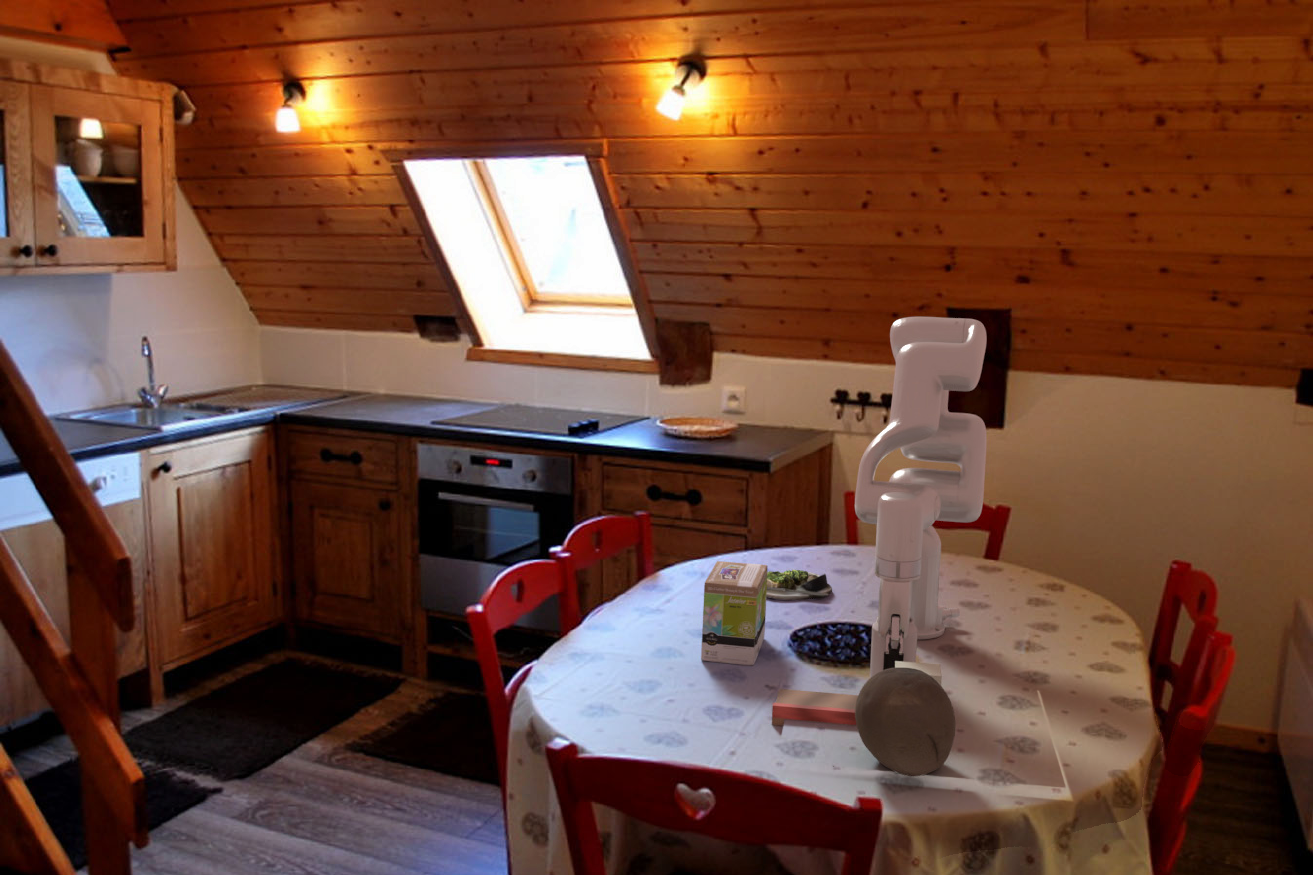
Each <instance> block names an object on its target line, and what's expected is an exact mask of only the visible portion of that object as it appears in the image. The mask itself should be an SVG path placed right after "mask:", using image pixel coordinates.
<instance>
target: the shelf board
mask: <svg viewBox="0 0 1313 875" xmlns="http://www.w3.org/2000/svg"><path fill="white" fill-rule="evenodd" d="M858 695H859V694H858ZM858 695H857V694H846V693H845V694H844V693H835V692H824V691H822V692H821V691H810V690H799V689H788V688H787V689H786V688H779V689H778V692H777V697H776V700H775V702H772V707H771V708H772V709H771V710H772V711H771V712H772V713H771V725H772V726H780V727H781V726H782V727H784V726H785V720H794V721H804V722H814V723H815V722H816V723H826V724H837V725H849V726H857V724H856V719H855V707H856V700H857V697H858Z"/></svg>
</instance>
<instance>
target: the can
mask: <svg viewBox="0 0 1313 875" xmlns="http://www.w3.org/2000/svg"><path fill="white" fill-rule="evenodd" d="M875 619H876V621H875V622H873V624H872V626H871V644H870V647H871V648H870V665H869V666H870V667H869V679H870V678H871V677H872V676H874V675H875V674H877V673H878V672H881V671H883V664H884V652H886V635H885V636H883V635H882V636H881V637H880V636H879V635H878V615H877V616H876V618H875ZM899 622H900V615H899ZM891 623H892V615H891ZM913 623H914V620H913V618H911V617H910V620H909V627H908V633H907V637H906V638H903V651H902V653H904V659H903V662H915V663H917V646H918V639H917V627H916V626H915V625H914V624H913ZM889 634H890V635H891V631H889ZM903 634H904V632H903ZM899 635H901V631H899ZM903 637H904V636H903ZM889 642H891V639H889ZM899 642H900V640H899Z"/></svg>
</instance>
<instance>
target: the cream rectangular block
mask: <svg viewBox="0 0 1313 875" xmlns="http://www.w3.org/2000/svg"><path fill="white" fill-rule="evenodd" d="M899 667H900V668H913V669H917V670H921V671H923V672H925V673H926V674H928V675H930V676H931V677H933V678H934V679H935V680H936V681H937V682H938V683H939V684H940V685H941V686H942V680H943V679H942V668H941V667H942V665H941V664H938V663H937V664H936V663H928V662H927V663H926V662H925V663H924V662H916V663H915V662H902V661H895V668H899Z"/></svg>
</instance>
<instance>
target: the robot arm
mask: <svg viewBox="0 0 1313 875" xmlns="http://www.w3.org/2000/svg"><path fill="white" fill-rule="evenodd" d="M889 330H890V331H889V338H890V339H889V341H890V347H891V352H892V355H893V358H894V361H895V369H894V378H893V386H892V388H893V389H892V397H891V404H890V405H891V406H890V415H889V422H888V425H887V426H886V427H885V428H884V429H883V430H882V431H881V432H880V433H878V434H877V435H875V437H874V438H873V439H872V441H871V442H870V443H869V445H868V446H867V447H866V449H865V450H864V452H863V455H862V457H861V459H860V461H859V466H858V471H857V480H856V487H855V488H856V489H855V496H854V511H855V515H856V517H857V518H858V520H860V521H862V522H863V523H865V524H871V525H876V538H875V555H874V556H875V557H874V559H875V560H874V561H875V562H874V576H875V577H877V578H879V591H878V592H879V593H878V609H877V610H878V611H877V612H878V614H877V616H878V635H879V636H880V637H881V636H882V635H883V636H885V635H886V652H884V664H883V670H885V669H889V668H895V661H902V662H903V659H904V653H902V651H903V638H906V637H907V633H908V627H909V620H910V617H911V618H913V620H914V623H913V624H914V625H915V626H916V627H917V640H931V639H935V638H939V637H940V636H943V634H944V633H945V629H946V628H945V627H946V626H945V624H944V623H943V621H945V620H946V619H955V618H960V615H961V614H960V610H959V608H958V607H949V608H947V607H946V605H939V591H940V590H939V589H940V572H941V555H942V554H941V553H942V542H941V538H940V536H939V534H938V533H937V531H936V529H935V527H934V526H933V524H934V523H935V521H941V522H942V521H943V522H954V523H972V522H975V521H977V520H978V519H979V517H980V516H981V514H982V510H983V505H984V504H983V503H984V496H985V495H984V494H985V493H984V492H985V477H986V475H985V474H986V463H987V461H986V459H987V443H988V442H987V440H988V438H987V429H986V428H987V427H986V425H985V422H984V420H983V419H982V418H981V417H980V416H978V415H977V414H972V413H965V412H950V411H949V409H948V407H949V404H948V403H949V395H950V394H949V392H951V391H952V392H953V391H954V392H955V391H956V392H970V391H973V390H975V388H976V387H977V386H978V383H979V381H980V378H981V374H982V370H983V364H984V360H985V353H986V349H987V338H988V337H987V330H986V327H985V326H984V324H983V323H982V321H980V320H977V319H973V318H961V317H958V318H957V317H956V318H955V317H940V316H939V317H938V316H937V317H936V316H908V317H902V318H899V319H896V320H895V321H894V322H893V323H892V325H891V327H890V329H889ZM899 449H900V451H901V454H902V455H903V457H905V458H906V459H909V460H913V461H921V462H932V463H944V464H945V463H947V464H955V465H957V466H958V467H960V468H959V469H960V471H959V470H950V469H949V470H948V469H938V468H937V469H936V468H923V467H907V468H905V467H904V468H900V469H898V470H896V471H895V472H893V473H892V475H891V476H890V478H889V481H884V480H883V481H882V480H875V474H876V470H877V468H878V465H879V464H880V463H881V461H882V460H883V459H884V458H885V457H886V456H887V455H889V454H891V453H892V452H894V451H896V450H899ZM891 615H892V623H891ZM899 615H900V622H899ZM889 631H891V635H890V634H889ZM899 631H901V635H899ZM903 632H904V634H903ZM903 636H904V637H903ZM889 639H891V642H889ZM899 640H900V642H899Z"/></svg>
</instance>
